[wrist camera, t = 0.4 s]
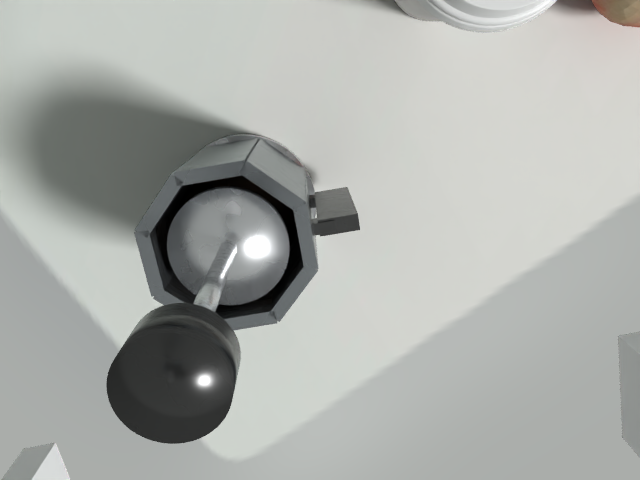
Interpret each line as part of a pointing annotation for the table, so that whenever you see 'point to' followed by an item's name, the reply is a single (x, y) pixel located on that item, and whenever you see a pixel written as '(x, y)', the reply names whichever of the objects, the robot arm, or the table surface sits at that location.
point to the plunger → (199, 317)
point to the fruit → (620, 11)
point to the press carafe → (274, 185)
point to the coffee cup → (476, 12)
